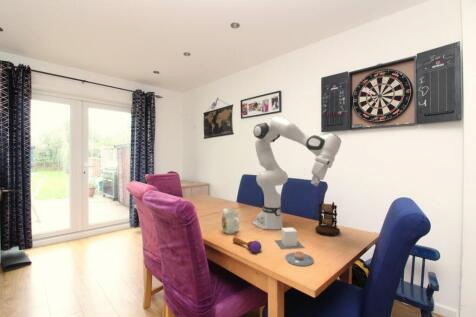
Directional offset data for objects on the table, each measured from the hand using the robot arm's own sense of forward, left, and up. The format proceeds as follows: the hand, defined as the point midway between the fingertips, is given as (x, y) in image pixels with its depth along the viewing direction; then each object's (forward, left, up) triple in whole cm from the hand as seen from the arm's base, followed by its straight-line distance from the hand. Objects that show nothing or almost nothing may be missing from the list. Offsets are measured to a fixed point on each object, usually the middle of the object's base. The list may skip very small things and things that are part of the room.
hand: (313, 184), depth 128 cm
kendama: (-18, -33, -33) cm, 51 cm away
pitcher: (-43, -26, -33) cm, 60 cm away
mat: (-7, -12, -33) cm, 36 cm away
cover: (-7, -12, -32) cm, 35 cm away
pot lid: (+8, -22, -33) cm, 40 cm away
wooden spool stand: (-6, +23, -33) cm, 41 cm away
